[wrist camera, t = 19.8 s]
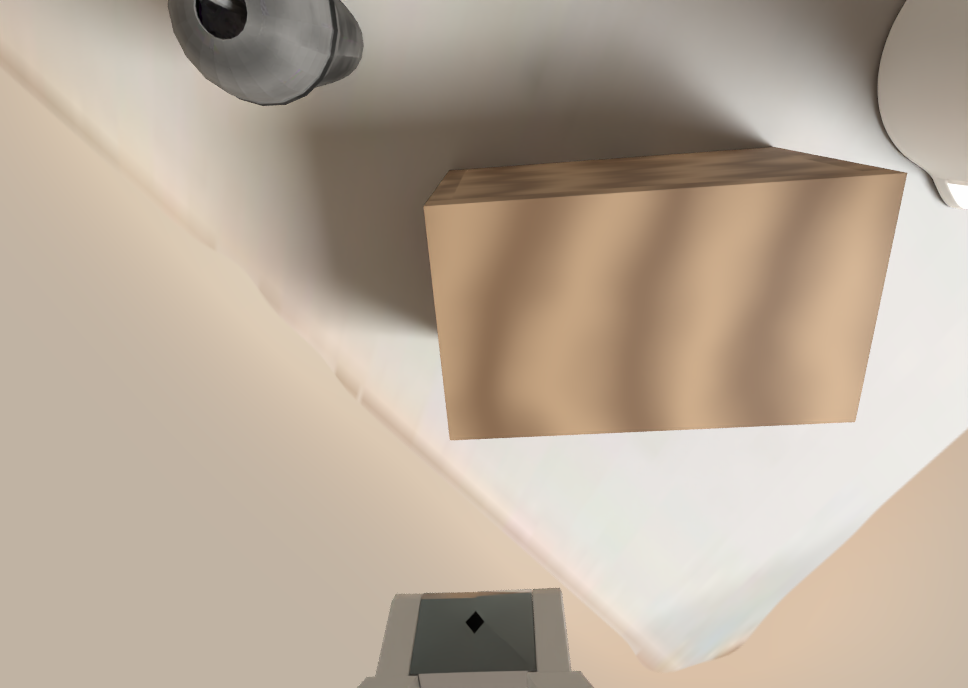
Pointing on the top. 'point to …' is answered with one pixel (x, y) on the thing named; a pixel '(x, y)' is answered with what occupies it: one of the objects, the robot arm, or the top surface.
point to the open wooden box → (658, 291)
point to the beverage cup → (268, 45)
